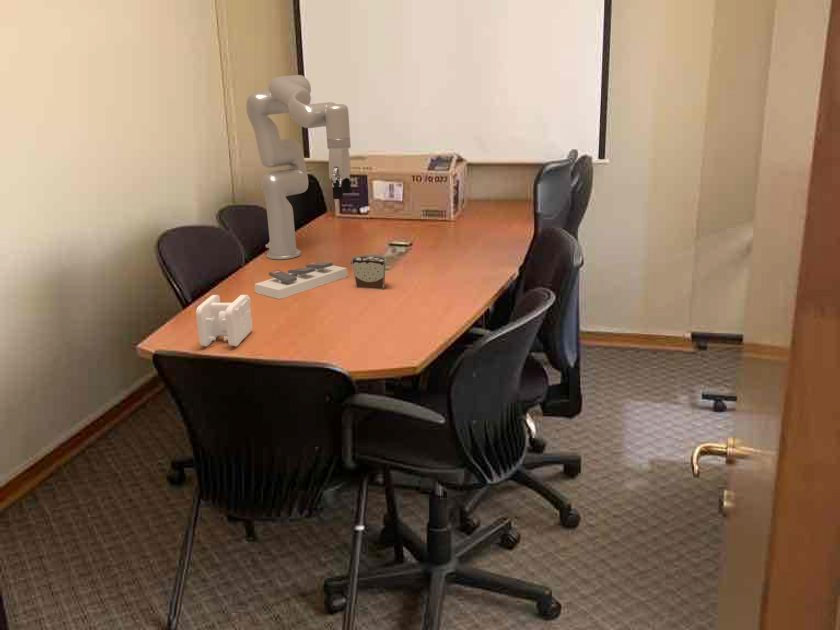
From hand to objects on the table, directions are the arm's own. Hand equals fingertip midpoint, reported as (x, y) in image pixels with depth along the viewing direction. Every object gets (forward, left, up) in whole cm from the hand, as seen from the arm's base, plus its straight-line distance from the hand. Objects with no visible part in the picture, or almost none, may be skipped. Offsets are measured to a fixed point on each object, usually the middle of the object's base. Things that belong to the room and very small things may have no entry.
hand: (342, 196), depth 288 cm
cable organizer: (+17, -63, -28) cm, 71 cm away
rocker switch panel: (-6, -15, -28) cm, 32 cm away
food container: (+15, -3, -28) cm, 32 cm away
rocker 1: (-6, -23, -23) cm, 33 cm away
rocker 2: (-6, -15, -23) cm, 28 cm away
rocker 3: (-6, -7, -23) cm, 25 cm away
